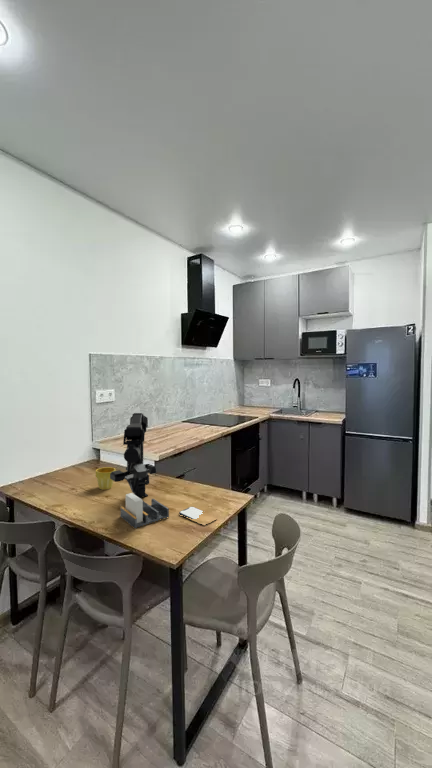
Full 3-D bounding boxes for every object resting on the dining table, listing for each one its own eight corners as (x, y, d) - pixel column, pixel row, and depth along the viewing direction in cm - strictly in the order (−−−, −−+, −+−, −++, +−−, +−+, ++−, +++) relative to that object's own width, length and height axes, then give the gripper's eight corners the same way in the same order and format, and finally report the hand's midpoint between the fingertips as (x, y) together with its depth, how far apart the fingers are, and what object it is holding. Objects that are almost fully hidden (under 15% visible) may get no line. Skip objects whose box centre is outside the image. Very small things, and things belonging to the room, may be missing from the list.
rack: (120, 516, 139) (120, 506, 139) (153, 506, 149) (153, 497, 149) (134, 528, 128) (134, 518, 128) (168, 517, 139) (169, 507, 139)
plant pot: (118, 484, 178) (118, 467, 178) (110, 491, 168) (110, 473, 167) (100, 483, 179) (100, 466, 179) (91, 490, 169) (91, 472, 168)
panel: (125, 514, 139) (125, 494, 138) (132, 512, 140) (132, 492, 140) (136, 523, 131) (136, 501, 131) (142, 521, 133) (142, 500, 132)
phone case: (218, 520, 138) (191, 509, 148) (218, 517, 138) (191, 505, 148) (204, 528, 131) (177, 515, 141) (204, 524, 131) (177, 512, 141)
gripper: (120, 464, 122) (120, 504, 123) (163, 456, 134) (163, 493, 135) (109, 458, 131) (109, 495, 132) (150, 451, 143) (150, 485, 144)
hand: (133, 492), depth 135 cm, fingers closed
